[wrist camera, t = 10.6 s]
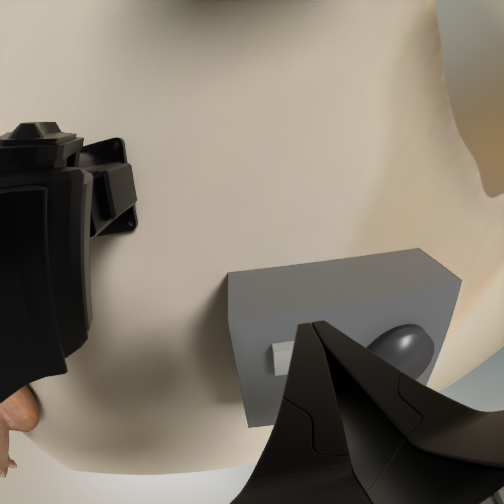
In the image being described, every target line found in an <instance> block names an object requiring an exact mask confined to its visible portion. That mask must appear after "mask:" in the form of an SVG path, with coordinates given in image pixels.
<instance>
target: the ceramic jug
mask: <svg viewBox="0 0 504 504" xmlns="http://www.w3.org/2000/svg"><path fill="white" fill-rule="evenodd" d="M38 422H39V408H38V405H37V402H36V400H35V398H34V396H33V394H32V393H31V391H30V390H29V388H28V387H27V385H25V386H24V387H22V388H21V389H19V390H18V391H17V392H15V393H14V394H13V395H11V396H10V397H9V398H7V399H6V400H5V401H3V402H2V403H0V477H2V478H5V477H6V474H7V470H8V467H10V468H16V467H17V464H16V463H15V462H14V461H13V460H11V459H10V457H9V455H8V450H9V430H15V431H26V432H28V431H30V430H33V429H34V428H35V427H36V426H37V424H38Z"/></svg>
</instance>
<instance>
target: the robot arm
mask: <svg viewBox="0 0 504 504" xmlns="http://www.w3.org/2000/svg"><path fill="white" fill-rule="evenodd" d="M83 141H84V138H82V137H76V134H73V133H64V132H61V130H60V129H59V127H58V125H57V124H56V122H28V123H20V124H19V125H18V126H17V127H16V129H15V130H14V131H13V132H9V133H6V134H4V135H2V136H1V137H0V403H2V402H3V401H5V400H6V399H7V398H9V397H10V396H11V395H13V394H14V393H15V392H17V391H18V390H19V389H21V388H22V387H24V386H25V385H27V384H29V383H31V382H33V381H36V380H39V379H41V378H44V377H48V376H54V375H61V374H65V373H67V371H68V369H67V365H66V361H65V358H66V357H68V356H69V355H71V354H72V353H73V352H75V351H76V350H78V349H79V348H80V347H81V346H82V345H83V344H84V343H85V341H86V340H87V339H88V330H89V328H90V324H91V320H92V317H93V315H92V302H91V286H90V241H91V240H92V239H93V238H94V237H95V236H101V235H107V234H114V233H120V232H126V231H132V230H134V229H135V228H136V227H137V225H138V220H137V215H136V210H135V205H134V204H135V203H136V201H137V197H136V191H135V186H134V180H133V174H132V167H131V165H130V164H129V163H127V157H126V150H125V143H124V140H123V139H122V138H112V139H108V140H104V141H101V142H97V143H93V144H90V145H87V146H83ZM115 142H119V147H118V148H116V147H115ZM128 220H131V221H132V222H133V226H130V225H129V224H128ZM230 504H504V410H502V411H495V412H483V411H478V410H475V409H472V408H470V407H467V406H465V405H463V404H461V403H459V402H457V401H454V400H453V399H450V398H448V397H446V396H444V395H442V394H440V393H438V392H436V391H434V390H432V389H431V388H429V387H427V386H425V385H423V384H421V383H420V382H418V381H416V380H415V379H413V378H411V377H410V376H408V375H407V374H405V373H404V372H401V371H400V370H399V369H397V368H396V367H394V366H393V365H391V364H390V363H388V362H387V361H385V360H384V359H382V358H381V357H379V356H378V355H376V354H374V353H373V352H371V351H370V350H368V349H367V348H365V347H364V346H362V345H361V344H359V343H358V342H356V341H355V340H353V339H352V338H350V337H349V336H347V335H346V334H344V333H343V332H341V331H340V330H338V329H337V328H335V327H334V326H332V325H331V324H329V323H328V322H326V321H324V320H320V321H314V322H312V323H309V322H308V323H301V324H298V325H297V330H296V335H295V340H294V345H293V350H292V355H291V360H290V365H289V369H288V374H287V378H286V383H285V387H284V392H283V396H282V400H281V404H280V408H279V412H278V415H277V419H276V422H275V425H274V427H273V430H272V432H271V435H270V437H269V440H268V442H267V444H266V446H265V448H264V450H263V452H262V455H261V457H260V459H259V461H258V463H257V465H256V467H255V469H254V471H253V473H252V475H251V476H250V478H249V480H248V482H247V483H246V485H245V486H244V488H243V489H242V491H241V492H240V493H239V495H237V497H236V498H235V499H234V500H233V501H232V502H231V503H230Z"/></svg>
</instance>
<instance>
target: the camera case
mask: <svg viewBox="0 0 504 504" xmlns="http://www.w3.org/2000/svg"><path fill="white" fill-rule="evenodd" d="M461 282H462V280H461V279H460V278H459V277H457V276H456V275H455V274H453V273H452V272H451V271H450V270H448V269H447V268H446V267H444V266H443V265H442V264H440V263H439V262H438V261H436V260H435V259H433V258H432V257H431V256H429V255H428V254H427V253H425V252H424V251H422V250H421V249H420V248H417V249H410V250H403V251H396V252H389V253H382V254H374V255H367V256H360V257H352V258H345V259H337V260H329V261H321V262H314V263H306V264H298V265H290V266H281V267H273V268H265V269H256V270H248V271H239V272H230V273H228V325H229V330H230V336H231V341H232V347H233V352H234V358H235V363H236V368H237V373H238V379H239V384H240V389H241V394H242V399H243V404H244V409H245V413H246V418H247V423H248V428H251V427H260V426H268V425H275V422H276V419H277V415H278V412H279V408H280V404H281V400H282V396H283V392H284V387H285V383H286V378H287V374H288V369H289V365H290V360H291V355H292V350H293V345H294V340H295V335H296V330H297V325H298V324H301V323H308V322H309V323H312V322H314V321H320V320H324V321H326V322H328V323H329V324H331V325H332V326H334V327H335V328H337V329H338V330H340V331H341V332H343V333H344V334H346V335H347V336H349V337H350V338H352V339H353V340H355V341H356V342H358V343H359V344H361V345H362V346H364V347H365V348H367V349H368V350H370V351H371V352H373V353H374V354H376V355H378V356H379V357H381V358H382V359H384V360H385V361H387V362H388V363H390V364H391V365H393V366H394V367H396V368H397V369H399V370H400V371H401V372H404V373H405V374H407V375H408V376H410V377H411V378H413V379H415V380H416V381H418V382H420V383H421V384H423V385H425V386H426V384H427V382H428V380H429V378H430V375H431V373H432V371H433V368H434V366H435V363H436V361H437V358H438V356H439V353H440V350H441V348H442V345H443V342H444V339H445V337H446V334H447V331H448V328H449V325H450V321H451V318H452V315H453V312H454V308H455V305H456V301H457V298H458V294H459V290H460V286H461Z"/></svg>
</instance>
